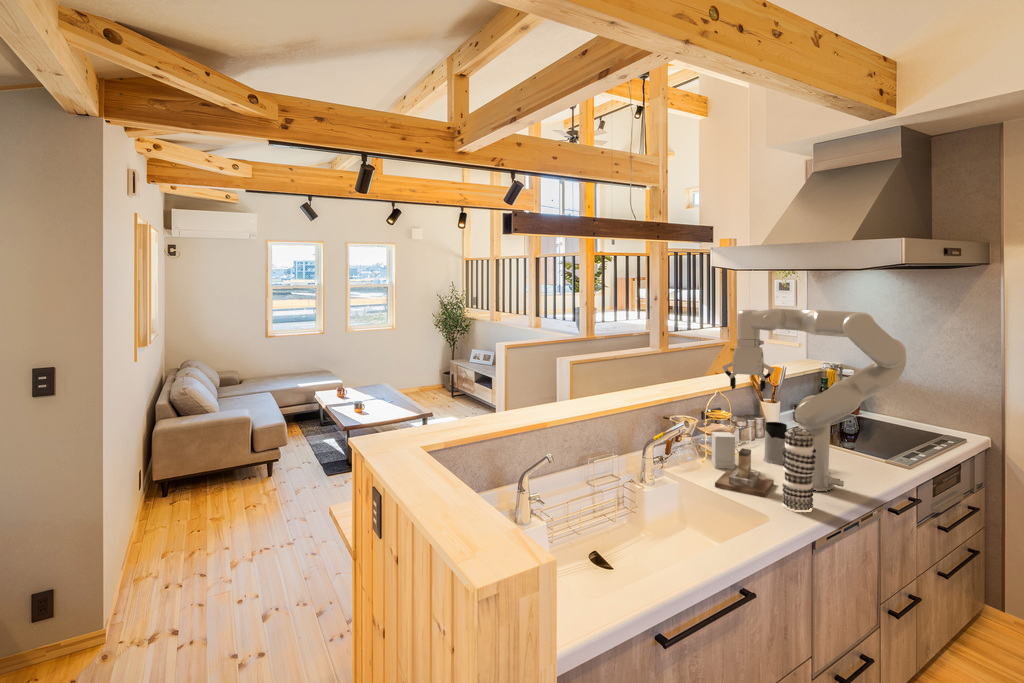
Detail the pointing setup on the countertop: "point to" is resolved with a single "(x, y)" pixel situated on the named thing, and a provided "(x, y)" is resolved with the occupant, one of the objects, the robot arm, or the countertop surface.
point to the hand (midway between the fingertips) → (747, 389)
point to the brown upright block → (744, 463)
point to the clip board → (745, 483)
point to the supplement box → (723, 450)
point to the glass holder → (774, 442)
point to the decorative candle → (798, 469)
